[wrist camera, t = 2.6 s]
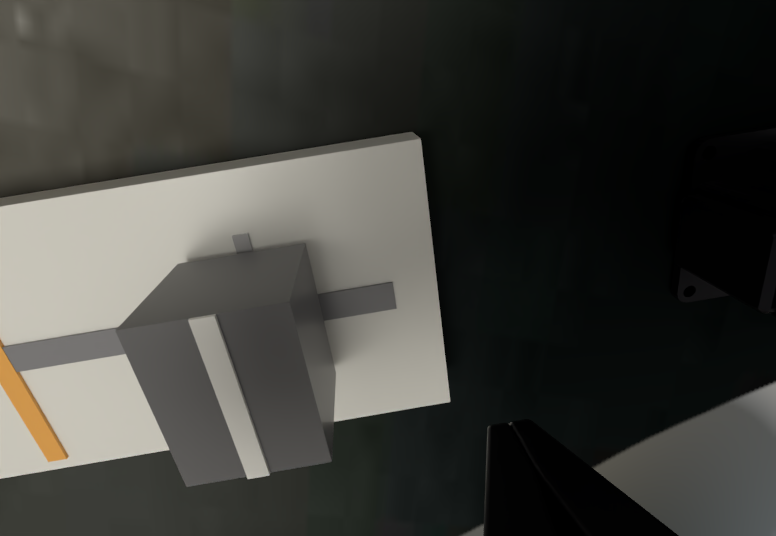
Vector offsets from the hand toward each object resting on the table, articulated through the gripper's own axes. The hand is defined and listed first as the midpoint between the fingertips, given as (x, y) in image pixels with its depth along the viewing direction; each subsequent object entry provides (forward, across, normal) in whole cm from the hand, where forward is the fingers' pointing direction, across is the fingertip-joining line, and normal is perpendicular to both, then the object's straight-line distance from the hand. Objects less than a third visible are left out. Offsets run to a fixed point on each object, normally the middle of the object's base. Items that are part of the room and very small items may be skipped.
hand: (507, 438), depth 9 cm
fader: (+7, +6, 0) cm, 9 cm away
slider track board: (+9, +10, 0) cm, 14 cm away
